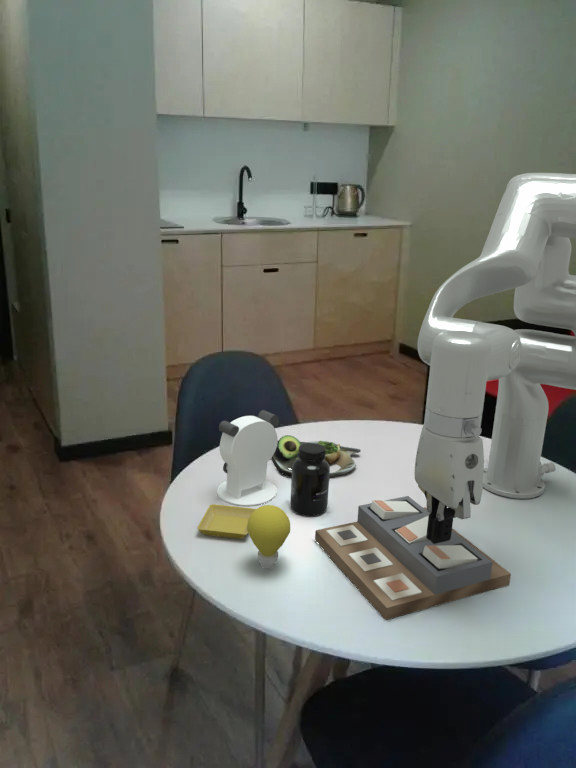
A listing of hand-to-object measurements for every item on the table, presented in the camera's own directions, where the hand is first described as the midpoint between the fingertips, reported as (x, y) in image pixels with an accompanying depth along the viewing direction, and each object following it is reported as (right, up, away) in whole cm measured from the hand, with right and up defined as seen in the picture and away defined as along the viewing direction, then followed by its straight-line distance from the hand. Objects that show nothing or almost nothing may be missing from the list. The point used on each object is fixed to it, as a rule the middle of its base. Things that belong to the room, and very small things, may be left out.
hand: (438, 539), depth 97 cm
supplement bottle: (-18, 0, +25) cm, 31 cm away
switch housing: (-1, -4, +10) cm, 11 cm away
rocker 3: (+2, -3, +2) cm, 5 cm away
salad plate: (-17, +6, +45) cm, 48 cm away
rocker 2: (-1, -1, +9) cm, 9 cm away
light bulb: (-25, -6, +8) cm, 27 cm away
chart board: (-3, -6, +10) cm, 12 cm away
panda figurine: (-29, +2, +31) cm, 43 cm away
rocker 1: (-4, +1, +15) cm, 16 cm away
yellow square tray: (-32, -3, +18) cm, 37 cm away
